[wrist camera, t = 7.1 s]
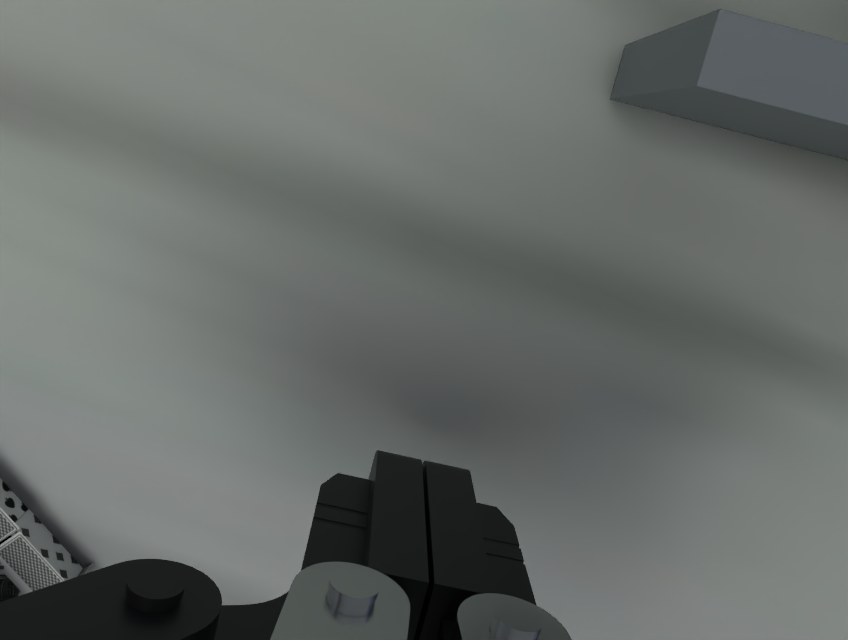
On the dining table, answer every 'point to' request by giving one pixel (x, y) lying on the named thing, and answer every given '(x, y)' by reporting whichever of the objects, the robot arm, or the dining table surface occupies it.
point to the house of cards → (29, 551)
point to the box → (743, 79)
